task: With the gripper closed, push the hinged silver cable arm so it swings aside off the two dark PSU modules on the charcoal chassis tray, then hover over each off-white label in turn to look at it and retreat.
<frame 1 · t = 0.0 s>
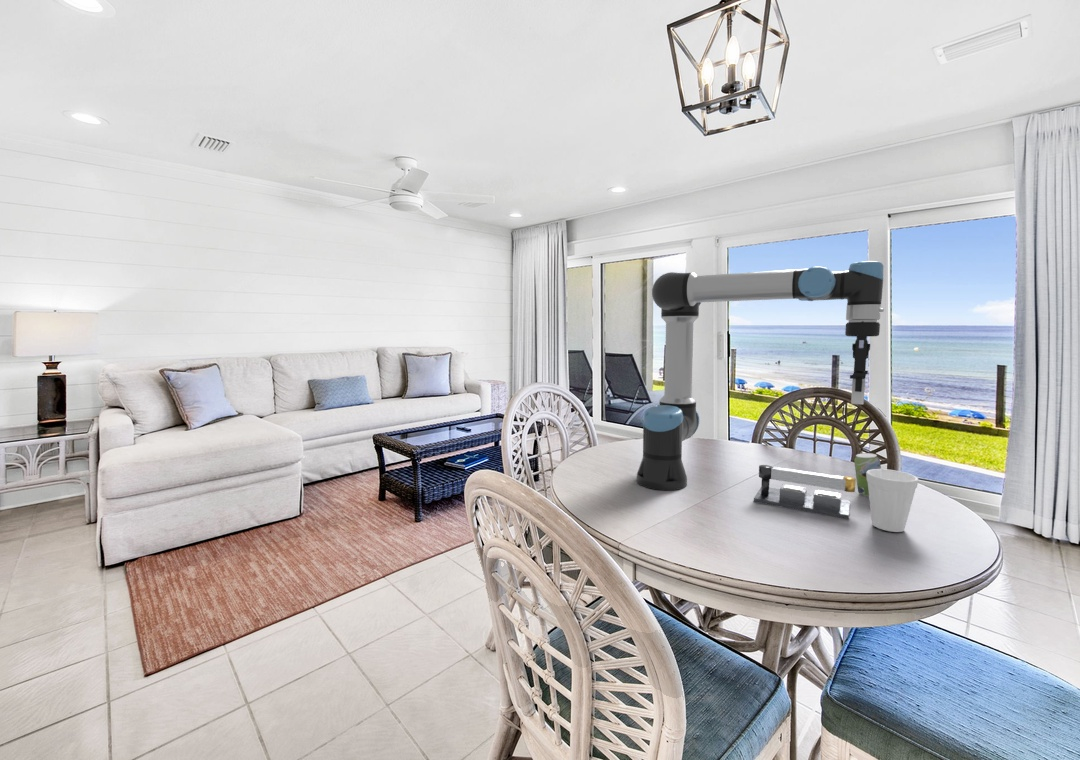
hand: (857, 400, 128), 28 cm above the table, fingers open, 13 cm apart
beverage can: (867, 496, 135), on the table
cup: (887, 528, 113), on the table
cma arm: (804, 477, 128), point 8 cm above the table, hinge at 0.0°
chassis: (801, 503, 130), on the table
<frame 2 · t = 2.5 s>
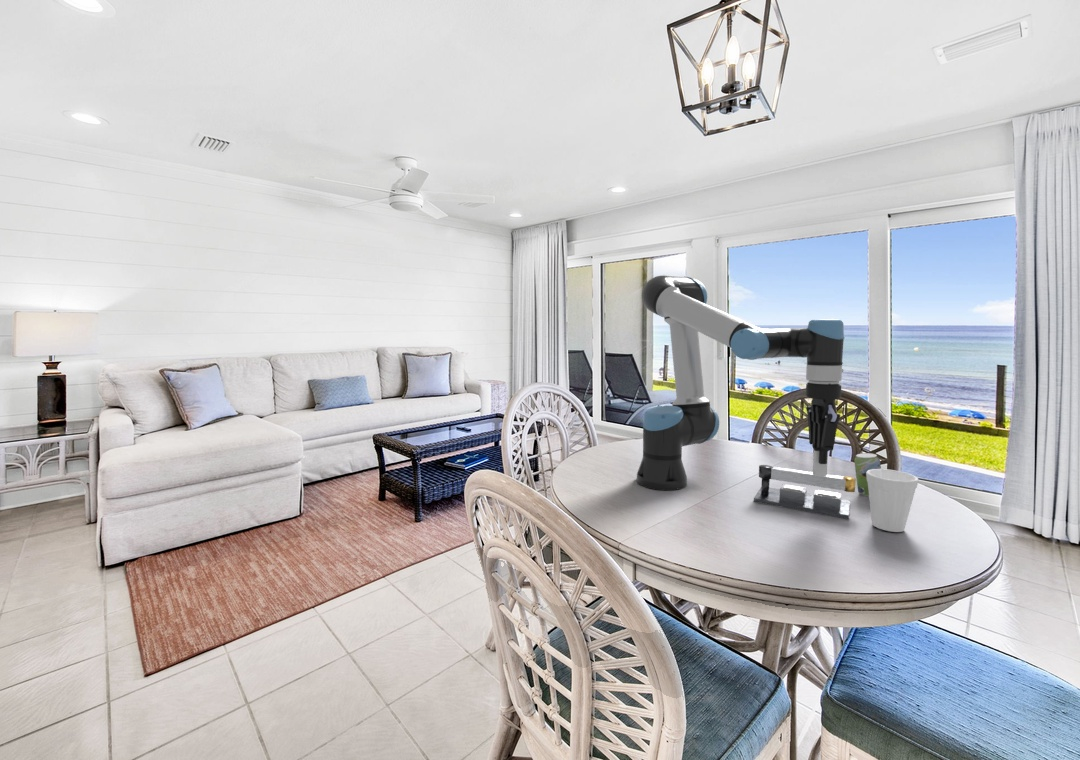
hand: (819, 475, 119), 11 cm above the table, fingers closed
nothing on the table moved.
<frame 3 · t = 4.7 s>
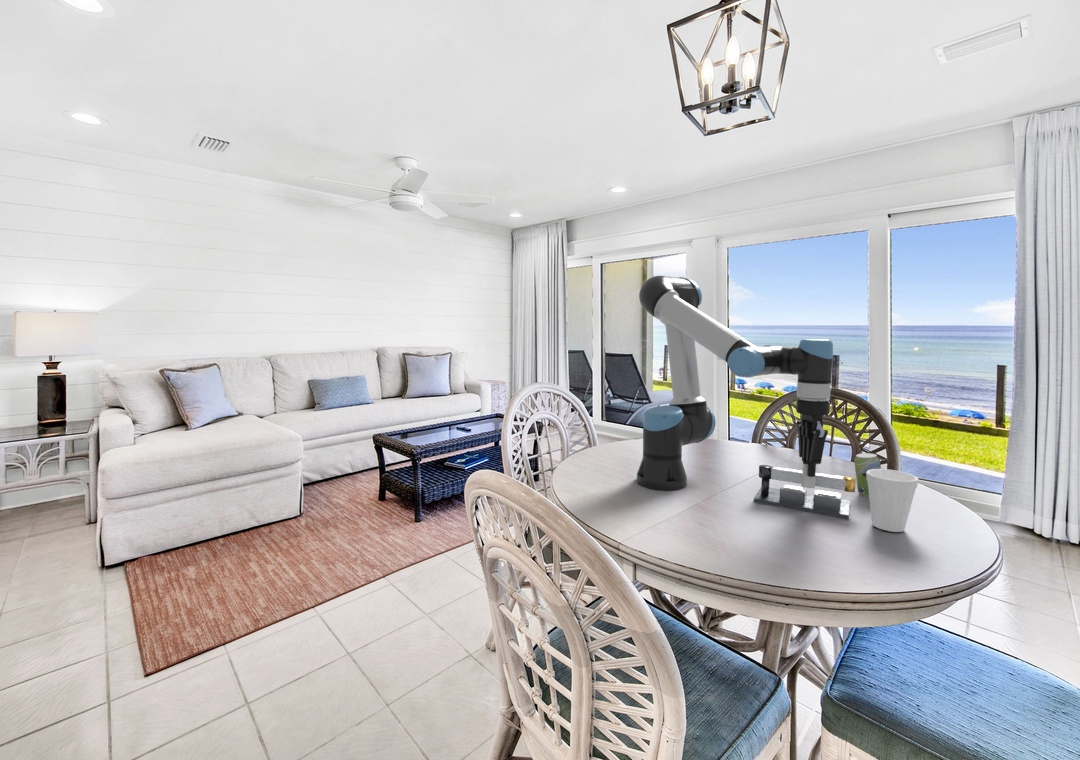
hand: (808, 487, 125), 6 cm above the table, fingers closed
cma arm: (804, 477, 128), point 7 cm above the table, hinge at 0.0°, touching gripper
everything else where it was.
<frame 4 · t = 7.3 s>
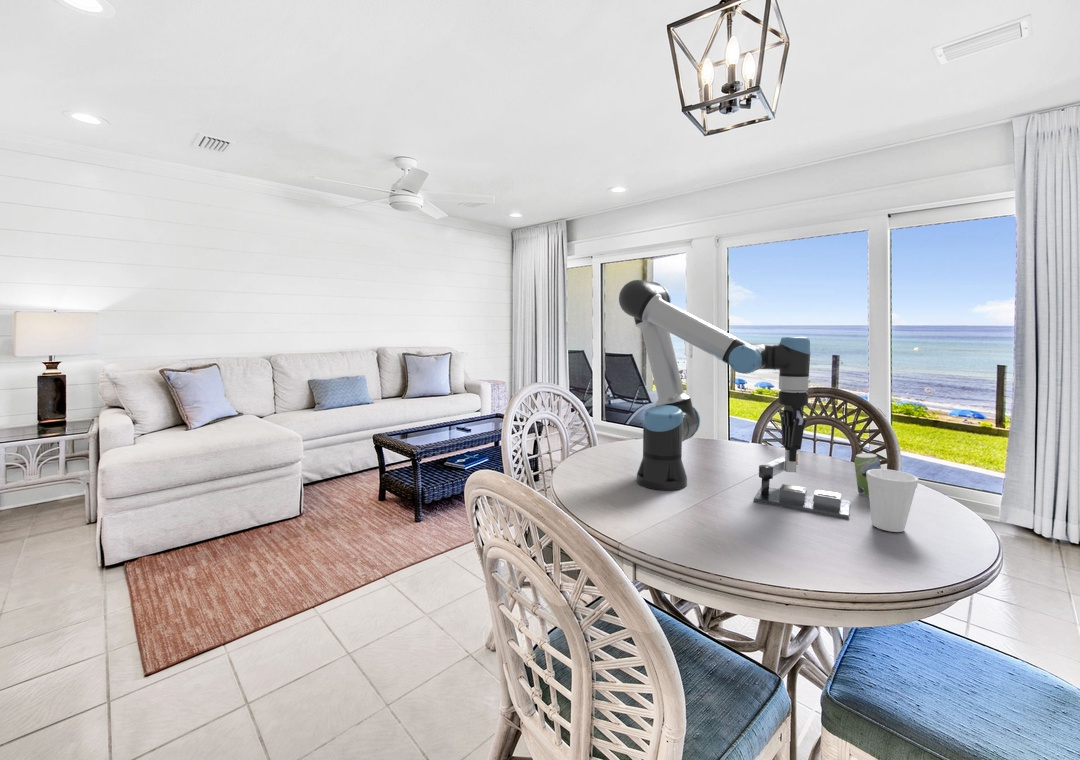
hand: (790, 471, 138), 6 cm above the table, fingers closed
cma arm: (779, 465, 139), point 7 cm above the table, hinge at 76.5°, touching gripper
everything else where it was.
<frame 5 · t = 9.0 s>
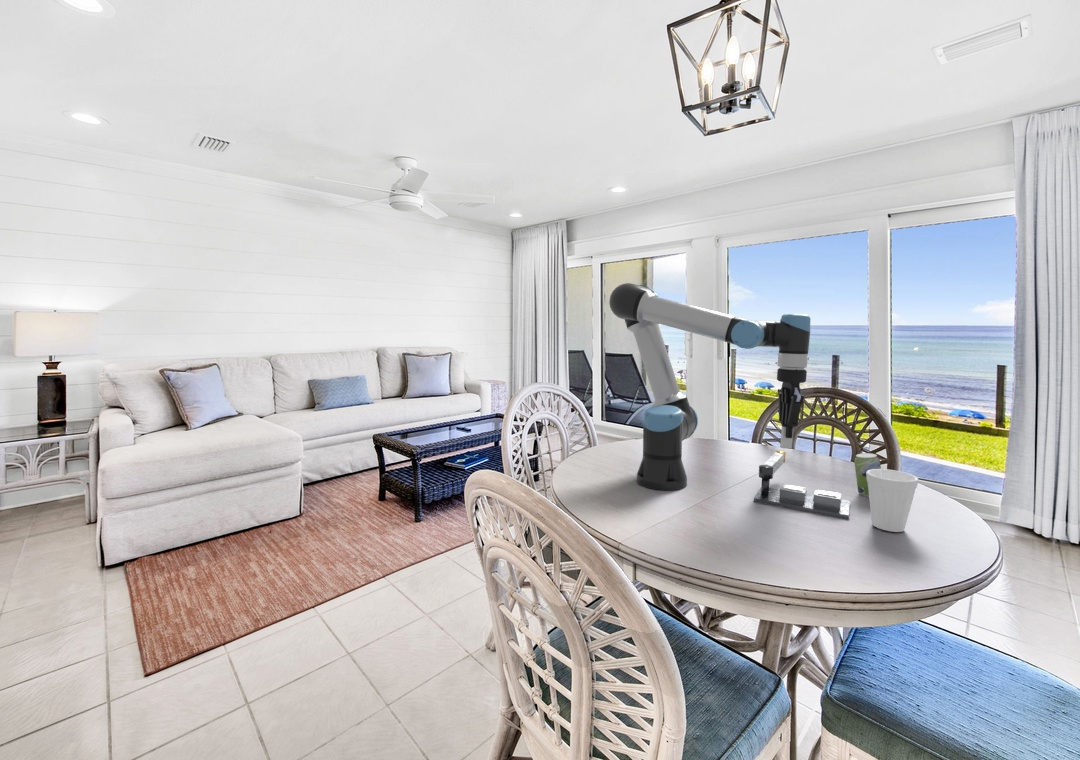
hand: (786, 447, 140), 13 cm above the table, fingers closed
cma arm: (773, 464, 141), point 7 cm above the table, hinge at 86.9°
everything else where it was.
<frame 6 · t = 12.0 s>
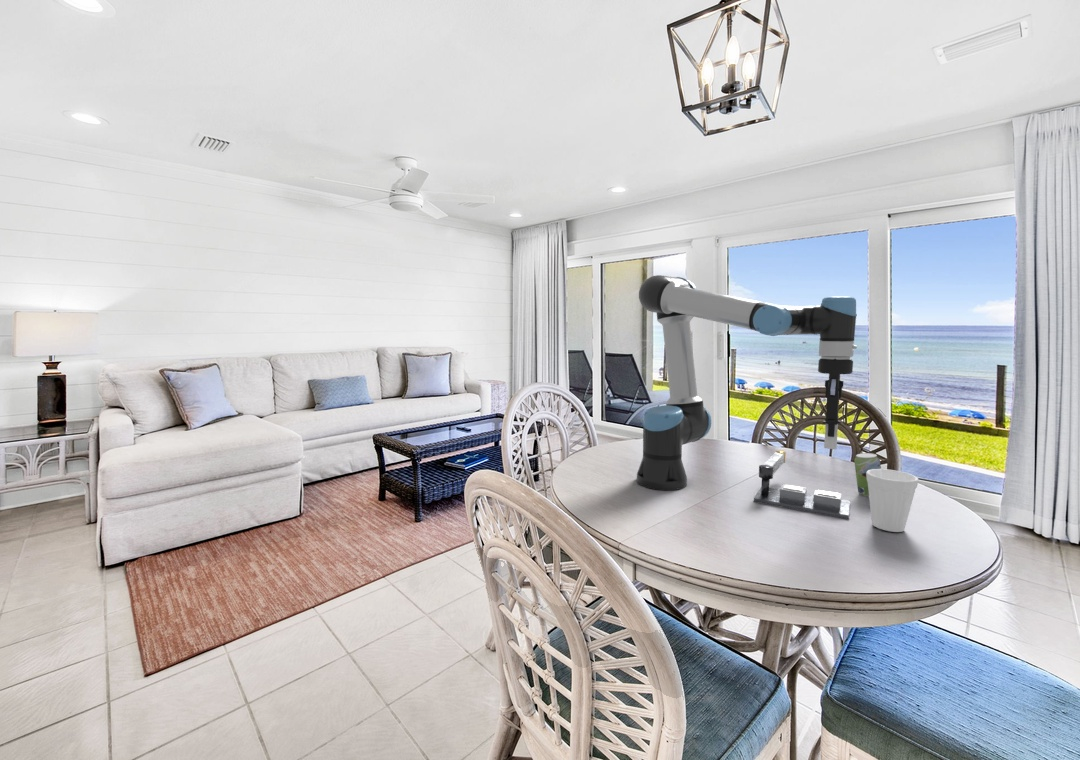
hand: (830, 448, 124), 16 cm above the table, fingers closed
nothing on the table moved.
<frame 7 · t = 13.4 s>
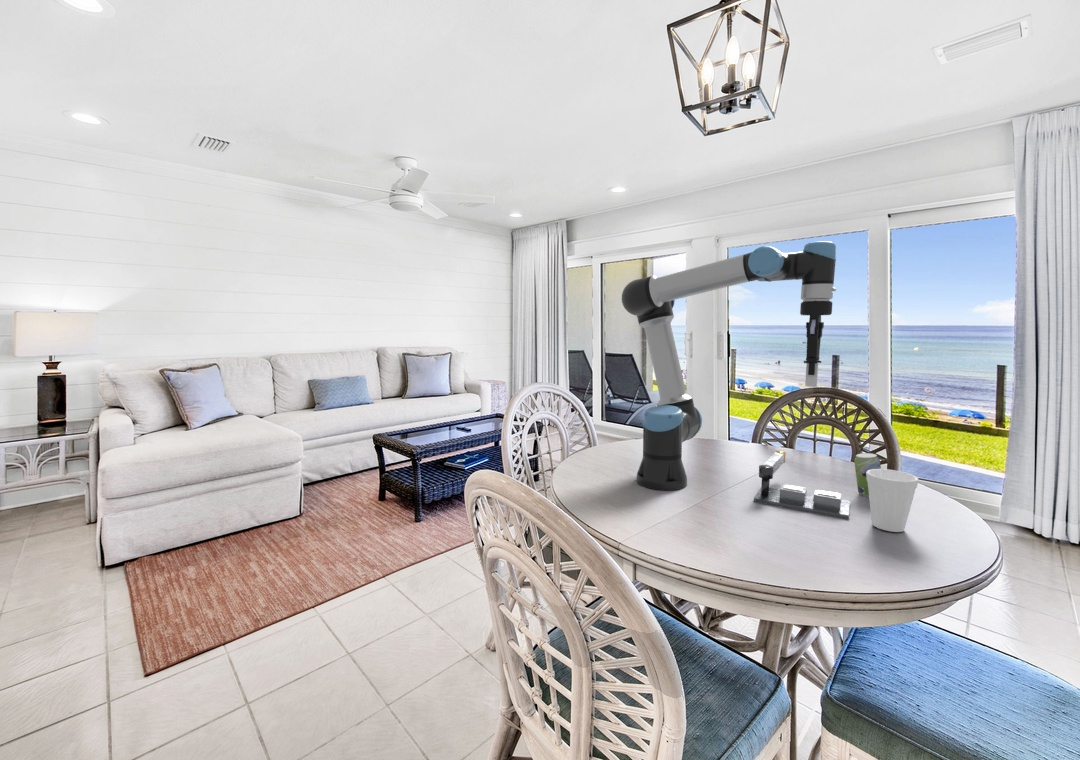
hand: (810, 386, 132), 31 cm above the table, fingers closed
nothing on the table moved.
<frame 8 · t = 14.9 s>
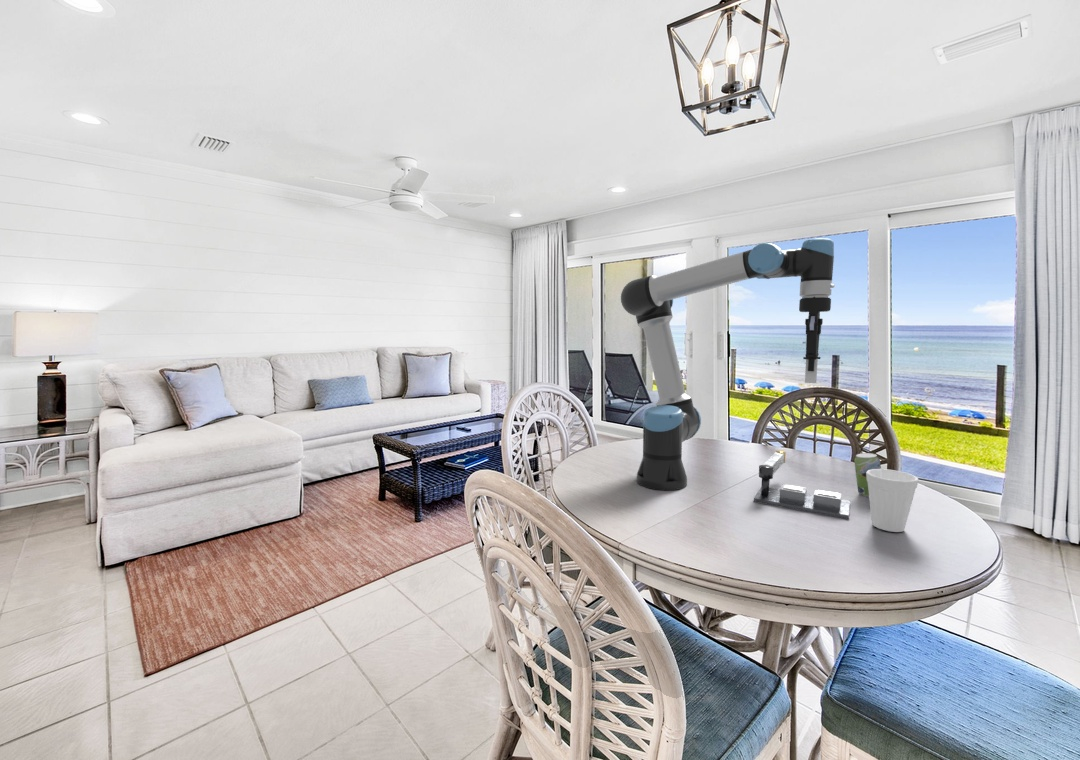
hand: (810, 382, 133), 32 cm above the table, fingers closed
nothing on the table moved.
at the end: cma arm at +87° (first picture: +0°) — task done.
